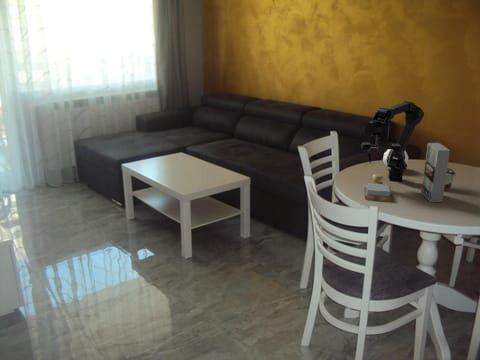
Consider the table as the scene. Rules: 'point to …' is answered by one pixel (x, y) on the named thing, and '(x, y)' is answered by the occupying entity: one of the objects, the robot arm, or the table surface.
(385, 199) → the tower base block
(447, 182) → the food container
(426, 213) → the table surface
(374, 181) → the tan rounded piece
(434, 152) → the grey handheld device
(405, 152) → the geodesic sphere
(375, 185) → the tower top block
